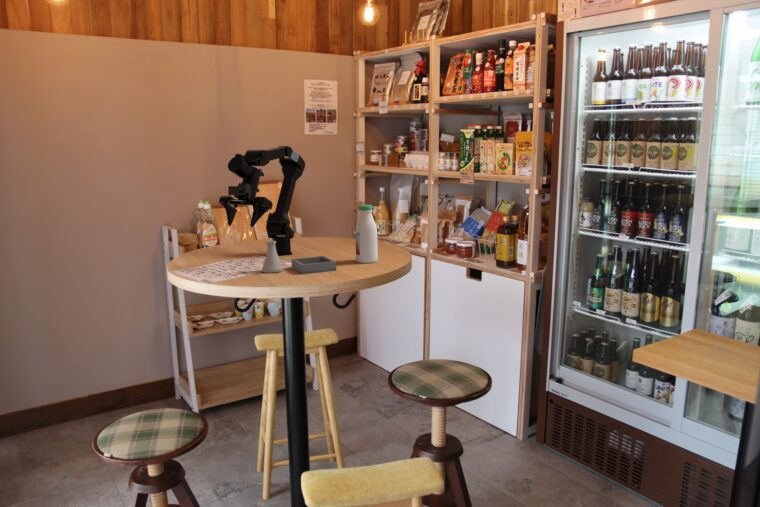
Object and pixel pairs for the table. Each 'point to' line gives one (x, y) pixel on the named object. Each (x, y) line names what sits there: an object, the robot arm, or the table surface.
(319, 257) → the box
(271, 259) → the flask
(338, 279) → the table surface
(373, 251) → the milk bottle
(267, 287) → the table surface
